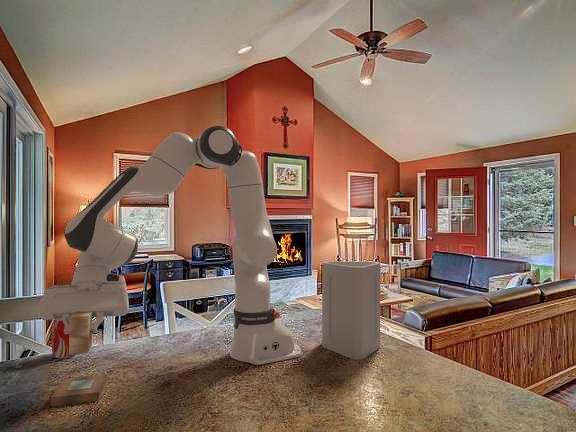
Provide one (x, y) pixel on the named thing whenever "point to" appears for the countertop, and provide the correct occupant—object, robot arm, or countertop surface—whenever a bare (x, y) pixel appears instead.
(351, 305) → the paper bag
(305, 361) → the countertop surface
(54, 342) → the soda can
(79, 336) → the pillar
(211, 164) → the robot arm
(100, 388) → the slab
